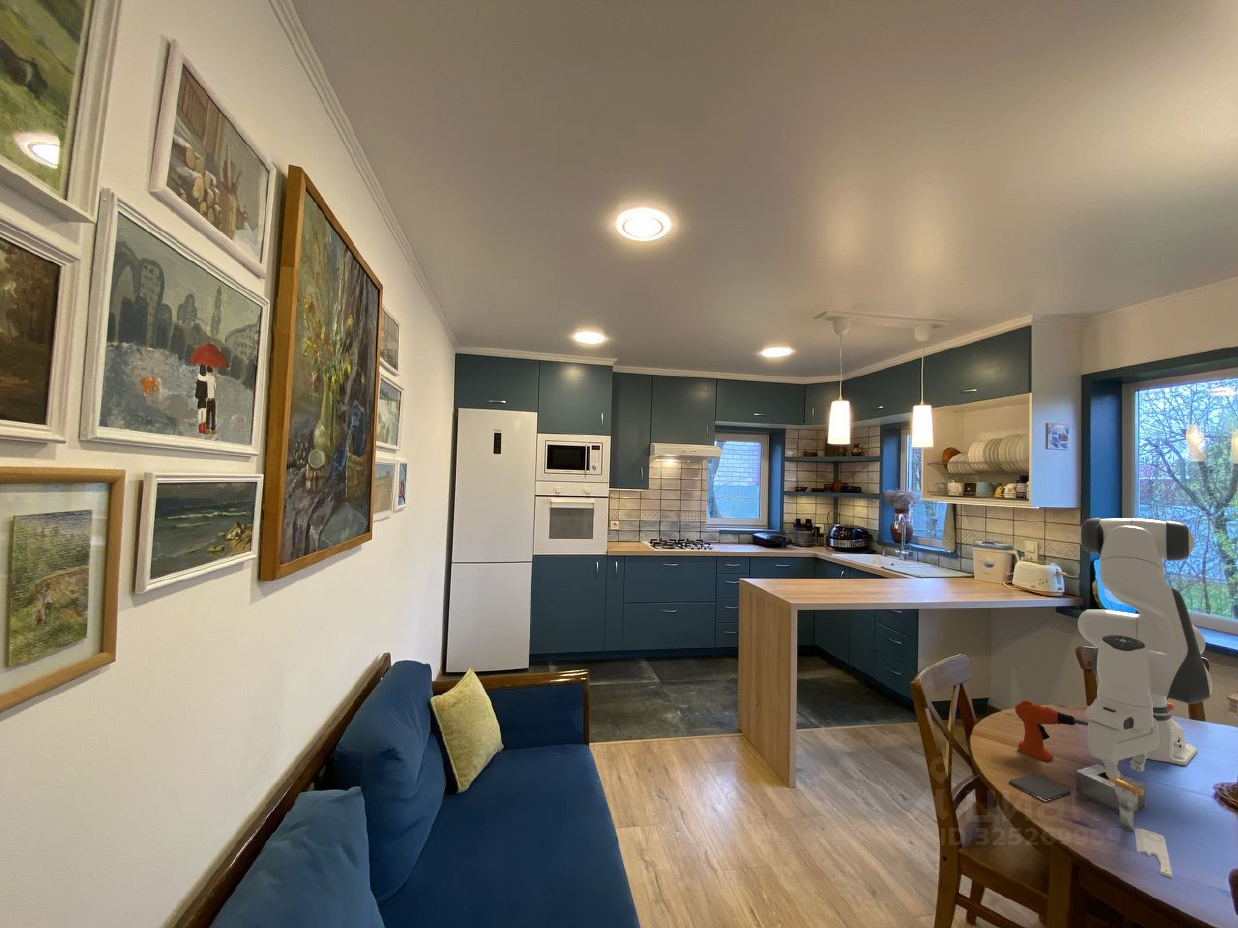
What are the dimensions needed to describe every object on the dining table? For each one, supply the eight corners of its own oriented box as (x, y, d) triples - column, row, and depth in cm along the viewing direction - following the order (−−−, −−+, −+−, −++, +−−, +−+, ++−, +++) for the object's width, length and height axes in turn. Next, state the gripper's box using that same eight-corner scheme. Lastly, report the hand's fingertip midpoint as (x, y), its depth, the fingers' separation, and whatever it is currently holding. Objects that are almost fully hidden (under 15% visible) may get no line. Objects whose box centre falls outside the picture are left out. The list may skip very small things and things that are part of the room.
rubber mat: (1033, 775, 131) (1033, 772, 131) (1070, 793, 123) (1070, 790, 123) (1009, 782, 127) (1009, 780, 127) (1045, 801, 120) (1045, 799, 120)
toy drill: (1105, 778, 127) (1093, 717, 129) (1016, 753, 143) (1007, 699, 145) (1110, 772, 130) (1099, 712, 132) (1022, 748, 145) (1014, 695, 147)
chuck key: (1115, 818, 114) (1114, 774, 115) (1148, 834, 109) (1147, 788, 109) (1106, 821, 113) (1105, 777, 113) (1138, 838, 108) (1137, 791, 108)
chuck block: (1097, 785, 127) (1097, 763, 127) (1145, 807, 118) (1144, 784, 118) (1076, 793, 123) (1076, 770, 124) (1123, 816, 115) (1123, 792, 115)
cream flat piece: (1135, 865, 101) (1135, 860, 101) (1131, 829, 111) (1131, 824, 111) (1172, 879, 97) (1172, 873, 97) (1165, 840, 108) (1164, 835, 108)
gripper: (1132, 699, 118) (1133, 758, 118) (1080, 711, 111) (1081, 774, 111) (1168, 710, 112) (1170, 772, 112) (1116, 724, 105) (1117, 790, 105)
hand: (1125, 773), depth 111 cm, fingers open, 8 cm apart
